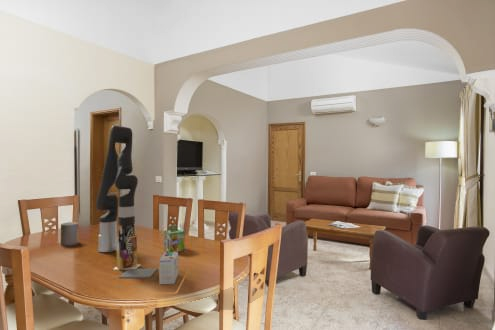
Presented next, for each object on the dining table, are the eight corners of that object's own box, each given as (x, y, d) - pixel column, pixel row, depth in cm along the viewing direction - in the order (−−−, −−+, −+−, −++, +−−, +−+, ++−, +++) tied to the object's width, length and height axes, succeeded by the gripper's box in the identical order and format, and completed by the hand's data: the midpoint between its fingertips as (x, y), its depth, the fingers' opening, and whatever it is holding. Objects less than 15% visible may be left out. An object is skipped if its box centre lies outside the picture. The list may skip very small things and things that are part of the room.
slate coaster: (119, 277, 136) (119, 276, 136) (127, 270, 146) (127, 268, 146) (150, 277, 136) (150, 276, 136) (156, 269, 146) (156, 268, 146)
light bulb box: (163, 275, 139) (163, 251, 139) (178, 274, 139) (178, 251, 139) (158, 284, 128) (158, 259, 128) (174, 283, 129) (174, 258, 129)
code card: (112, 269, 146) (112, 269, 146) (118, 264, 153) (118, 264, 153) (135, 269, 146) (135, 269, 146) (140, 264, 153) (140, 264, 153)
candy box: (134, 263, 154) (133, 234, 154) (137, 265, 151) (137, 235, 151) (116, 267, 148) (116, 236, 148) (119, 270, 145) (119, 238, 145)
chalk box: (170, 254, 171) (170, 228, 171) (163, 250, 178) (163, 225, 178) (185, 250, 177) (185, 225, 177) (178, 247, 184) (177, 223, 184)
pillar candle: (57, 246, 189) (56, 222, 189) (71, 242, 198) (71, 219, 198) (68, 247, 185) (67, 223, 185) (82, 243, 194) (81, 220, 194)
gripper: (124, 213, 157) (125, 244, 157) (112, 217, 142) (113, 252, 142) (139, 212, 157) (139, 243, 157) (128, 217, 142) (129, 251, 143)
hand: (127, 247), depth 150 cm, fingers open, 8 cm apart
